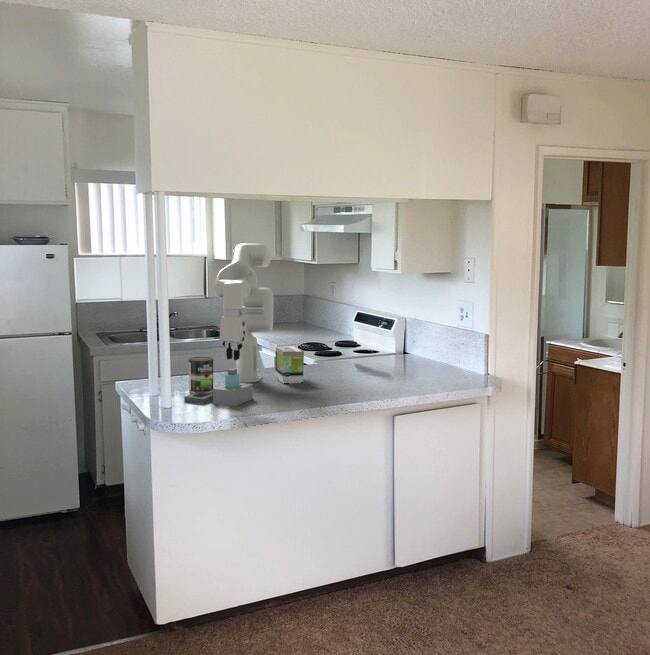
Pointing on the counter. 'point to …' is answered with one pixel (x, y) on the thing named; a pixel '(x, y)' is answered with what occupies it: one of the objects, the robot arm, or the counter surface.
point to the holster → (199, 398)
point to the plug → (232, 379)
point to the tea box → (289, 364)
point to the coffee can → (200, 374)
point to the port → (232, 394)
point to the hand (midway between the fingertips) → (233, 358)
